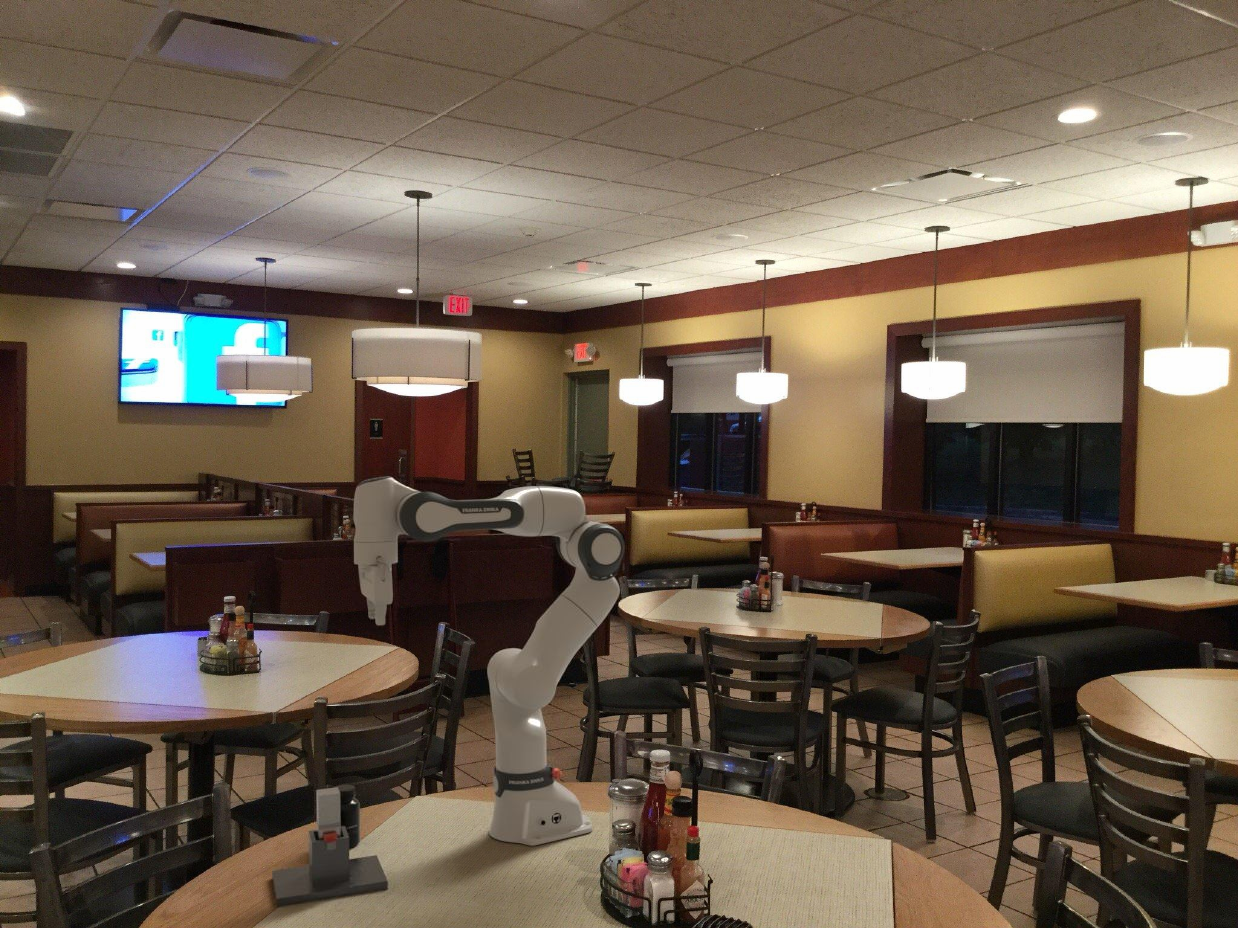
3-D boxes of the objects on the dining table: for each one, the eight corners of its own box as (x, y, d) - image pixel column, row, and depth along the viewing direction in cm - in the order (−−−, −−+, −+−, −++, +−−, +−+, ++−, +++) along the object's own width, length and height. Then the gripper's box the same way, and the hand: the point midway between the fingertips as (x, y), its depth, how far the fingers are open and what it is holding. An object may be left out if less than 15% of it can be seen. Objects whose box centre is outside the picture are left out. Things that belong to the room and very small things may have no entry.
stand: (376, 862, 206) (376, 810, 206) (387, 888, 193) (387, 833, 193) (272, 878, 199) (271, 824, 199) (276, 906, 186) (276, 849, 186)
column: (338, 868, 199) (338, 786, 199) (341, 876, 195) (340, 793, 195) (317, 872, 197) (316, 789, 197) (319, 880, 193) (318, 795, 193)
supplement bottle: (351, 851, 212) (350, 793, 212) (320, 849, 214) (320, 792, 214) (365, 839, 219) (365, 783, 219) (336, 837, 221) (335, 781, 221)
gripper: (399, 558, 203) (400, 627, 203) (383, 550, 222) (384, 614, 222) (367, 559, 201) (368, 629, 201) (354, 551, 220) (354, 616, 220)
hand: (376, 621), depth 211 cm, fingers open, 8 cm apart
